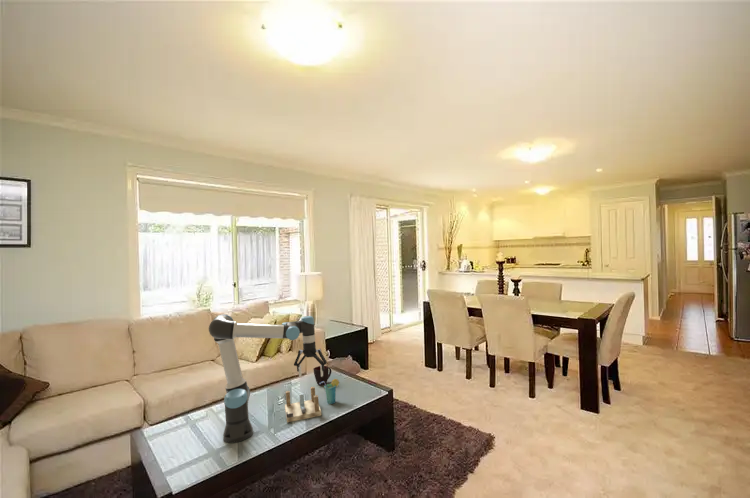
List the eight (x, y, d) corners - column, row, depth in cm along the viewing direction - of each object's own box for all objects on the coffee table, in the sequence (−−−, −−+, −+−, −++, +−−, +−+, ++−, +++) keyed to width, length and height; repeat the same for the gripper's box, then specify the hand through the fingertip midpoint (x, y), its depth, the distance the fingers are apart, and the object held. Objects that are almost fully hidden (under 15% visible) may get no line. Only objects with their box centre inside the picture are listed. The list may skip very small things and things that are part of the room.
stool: (286, 422, 207) (285, 403, 207) (285, 408, 226) (283, 391, 226) (321, 415, 213) (320, 396, 213) (316, 402, 232) (315, 385, 232)
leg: (305, 412, 211) (305, 399, 211) (301, 413, 211) (300, 399, 211) (304, 405, 221) (303, 392, 221) (300, 406, 220) (299, 393, 220)
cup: (323, 408, 223) (322, 383, 223) (317, 404, 229) (315, 380, 229) (342, 400, 232) (340, 377, 232) (336, 397, 238) (334, 375, 238)
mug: (312, 384, 265) (311, 368, 265) (327, 379, 275) (326, 363, 275) (320, 387, 258) (319, 370, 258) (335, 381, 268) (334, 365, 268)
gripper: (287, 344, 218) (289, 379, 218) (327, 342, 216) (329, 377, 215) (291, 341, 225) (293, 374, 225) (330, 339, 223) (332, 373, 223)
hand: (311, 376), depth 220 cm, fingers open, 13 cm apart
